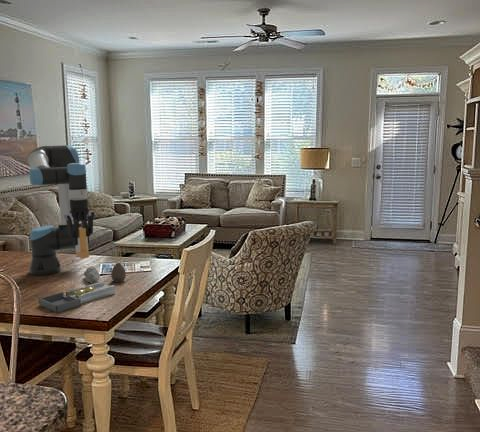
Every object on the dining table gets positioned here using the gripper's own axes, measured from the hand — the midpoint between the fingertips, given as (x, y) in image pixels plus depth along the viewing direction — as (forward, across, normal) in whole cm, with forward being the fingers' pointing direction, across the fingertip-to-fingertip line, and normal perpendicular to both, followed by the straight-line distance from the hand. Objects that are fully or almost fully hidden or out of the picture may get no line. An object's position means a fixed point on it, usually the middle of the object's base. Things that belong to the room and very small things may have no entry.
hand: (82, 251), depth 210 cm
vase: (+19, +19, +2) cm, 27 cm away
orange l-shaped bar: (+3, 0, 0) cm, 3 cm away
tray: (+19, -16, -8) cm, 26 cm away
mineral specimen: (+19, +12, +12) cm, 25 cm away
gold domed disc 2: (+17, -2, -8) cm, 19 cm away
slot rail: (+19, -2, -8) cm, 20 cm away
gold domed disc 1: (+17, -6, -8) cm, 20 cm away
